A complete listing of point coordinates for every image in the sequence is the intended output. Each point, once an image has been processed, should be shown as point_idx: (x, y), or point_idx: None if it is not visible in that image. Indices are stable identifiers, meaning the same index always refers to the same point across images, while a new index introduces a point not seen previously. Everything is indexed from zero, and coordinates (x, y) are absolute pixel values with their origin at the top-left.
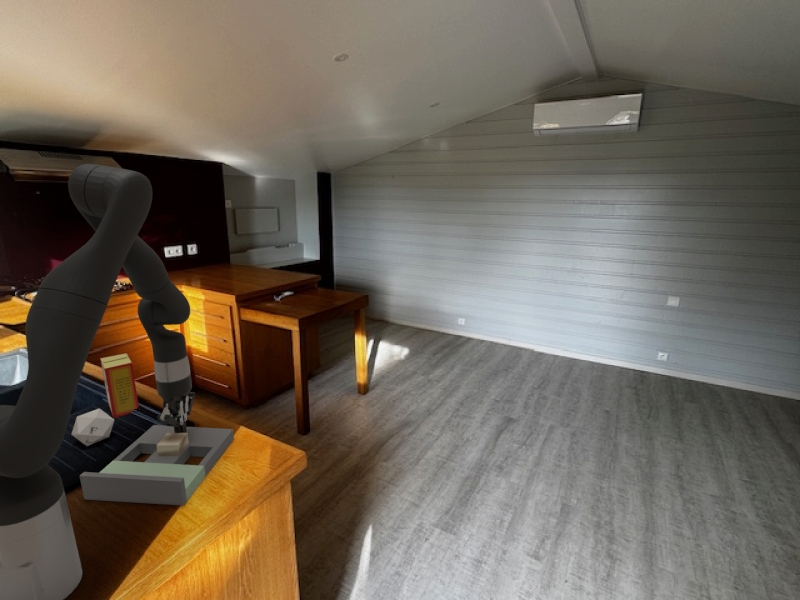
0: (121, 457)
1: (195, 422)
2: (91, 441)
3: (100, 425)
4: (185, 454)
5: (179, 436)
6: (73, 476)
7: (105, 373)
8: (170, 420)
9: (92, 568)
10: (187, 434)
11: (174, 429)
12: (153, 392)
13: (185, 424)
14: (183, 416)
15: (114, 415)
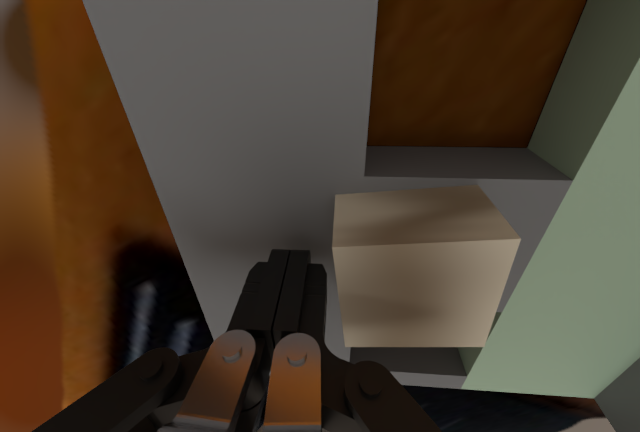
0: (444, 378)
1: (111, 251)
2: (325, 430)
3: None
4: (414, 165)
5: (386, 276)
6: (452, 399)
7: None
8: None
9: None
10: (334, 238)
11: (324, 336)
12: (65, 402)
13: (257, 306)
14: (241, 398)
15: None
